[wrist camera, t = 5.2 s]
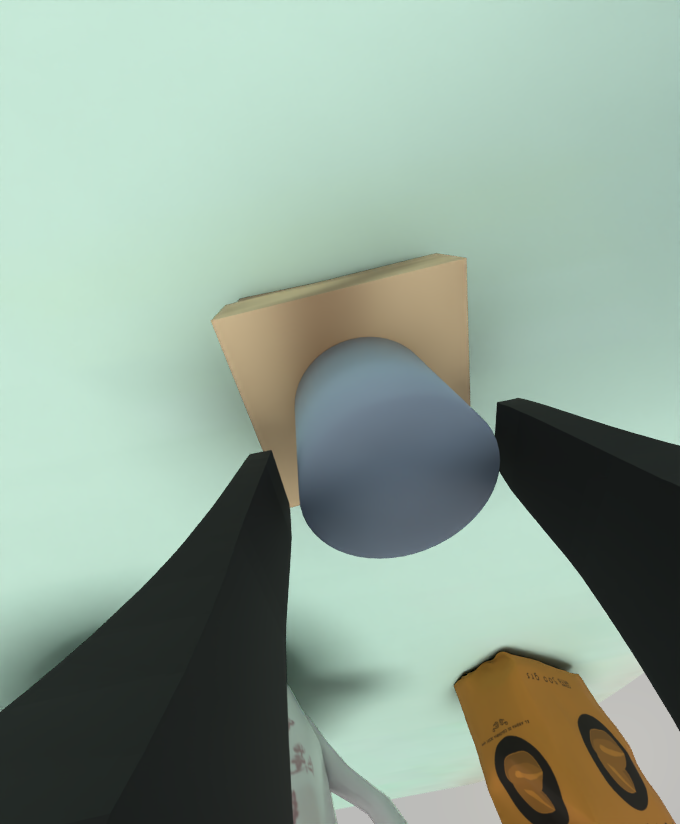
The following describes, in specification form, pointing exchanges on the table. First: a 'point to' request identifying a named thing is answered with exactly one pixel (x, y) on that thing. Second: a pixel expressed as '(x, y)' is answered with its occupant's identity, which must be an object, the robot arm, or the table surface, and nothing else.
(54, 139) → the table surface
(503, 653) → the coffee package
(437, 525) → the round block
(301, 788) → the chamber pot
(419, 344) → the oak slab
